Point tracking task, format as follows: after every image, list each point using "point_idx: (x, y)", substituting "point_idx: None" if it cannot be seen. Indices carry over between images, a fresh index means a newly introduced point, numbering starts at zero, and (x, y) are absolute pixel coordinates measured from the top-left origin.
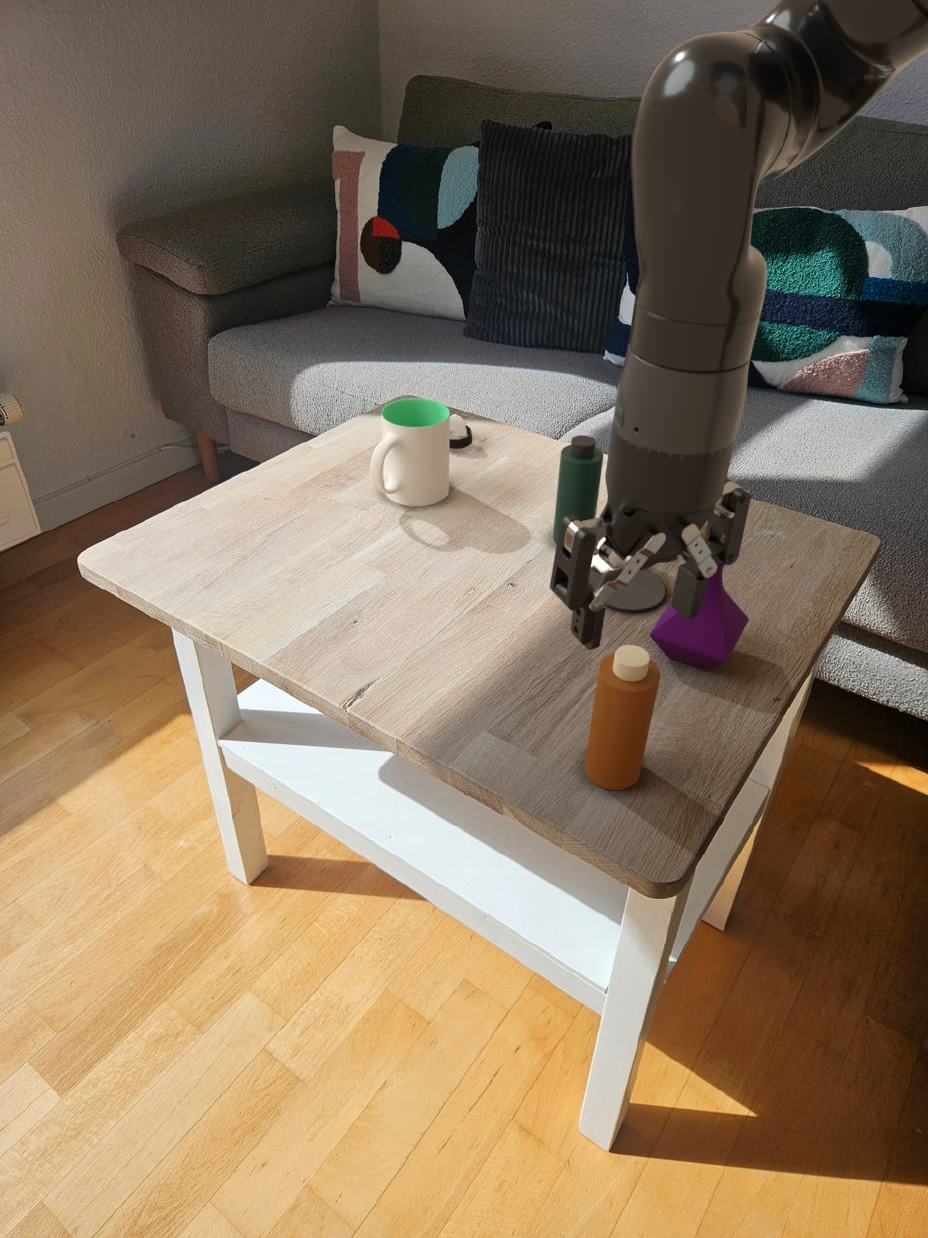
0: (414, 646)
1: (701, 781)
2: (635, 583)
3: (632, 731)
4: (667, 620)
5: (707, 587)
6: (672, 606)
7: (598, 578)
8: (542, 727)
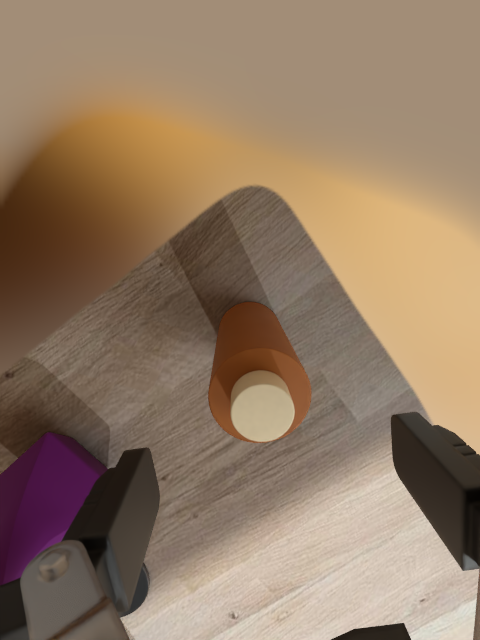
0: (377, 552)
1: (159, 287)
2: None
3: (260, 324)
4: None
5: (19, 551)
6: (159, 494)
7: (131, 604)
8: None
